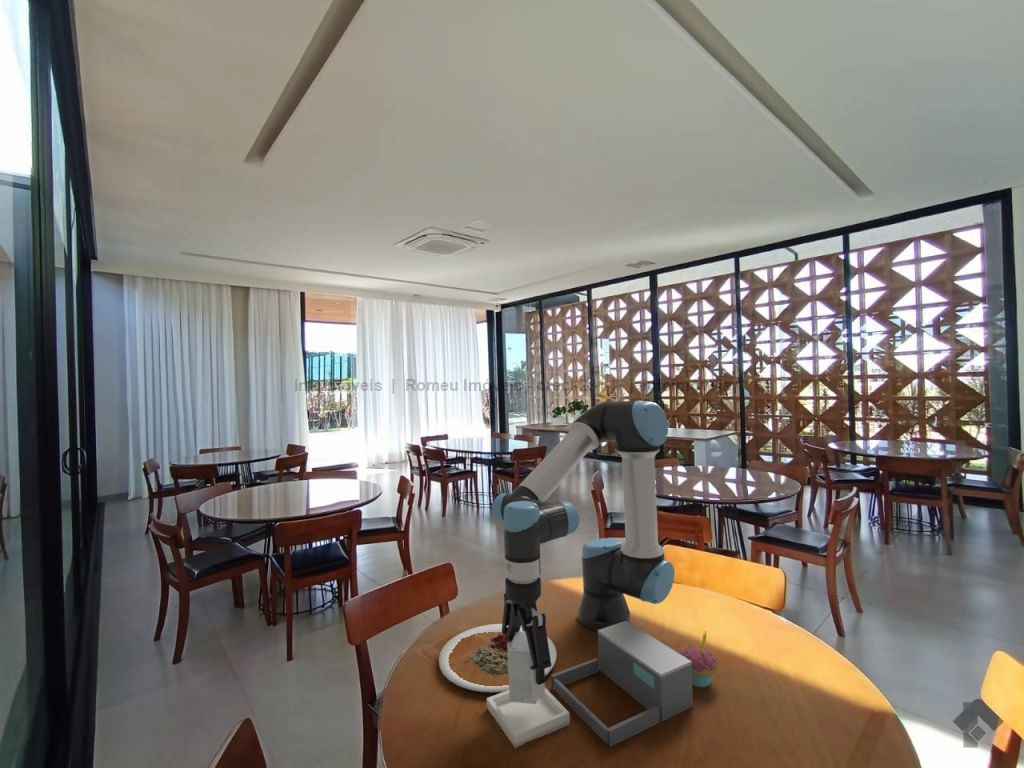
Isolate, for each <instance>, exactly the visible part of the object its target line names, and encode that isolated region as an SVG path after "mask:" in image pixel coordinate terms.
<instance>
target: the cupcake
mask: <svg viewBox="0 0 1024 768" xmlns="http://www.w3.org/2000/svg"><path fill="white" fill-rule="evenodd" d="M706 640H707V630H705V632H704V633H703V634H702V641H701V647H696V646H695V647H693V646H690V647H686V648H683V649H682V651H680V652H678V653H679V654H680V655H682V656H684V657H685V658H687V659H688V660H690V661H692V686H694V687H696V688H697V687H698V688H706V687H708V686H709V685H710V683H711V680H712V676H714V675H715V674H716V672H717V671H718V661H717V660H718V659H717V658H716V657H715V655H713V654H712V653H711V652H709V651H708V650H706V649H705V648H706V642H707V641H706Z"/></svg>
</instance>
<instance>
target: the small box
mask: <svg viewBox="0 0 1024 768" xmlns="http://www.w3.org/2000/svg"><path fill="white" fill-rule="evenodd" d="M508 662H509V696H510V702H519V703H529V704H536V702H537V699H536V700H534V701H533V699H532V693H531V668H530V667H531V666H532V665H533V662H532V658H531V654H530V650H529V645H528V641H527V637H526V633H525V632H515V635H514V638H513V640H512V643H511V646H510V648H509V650H508Z"/></svg>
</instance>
